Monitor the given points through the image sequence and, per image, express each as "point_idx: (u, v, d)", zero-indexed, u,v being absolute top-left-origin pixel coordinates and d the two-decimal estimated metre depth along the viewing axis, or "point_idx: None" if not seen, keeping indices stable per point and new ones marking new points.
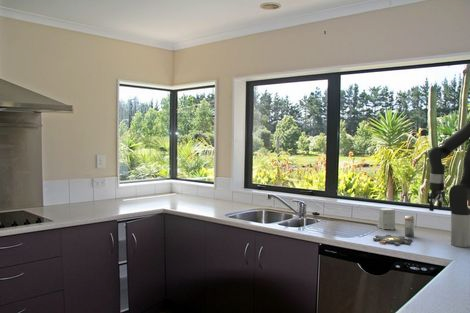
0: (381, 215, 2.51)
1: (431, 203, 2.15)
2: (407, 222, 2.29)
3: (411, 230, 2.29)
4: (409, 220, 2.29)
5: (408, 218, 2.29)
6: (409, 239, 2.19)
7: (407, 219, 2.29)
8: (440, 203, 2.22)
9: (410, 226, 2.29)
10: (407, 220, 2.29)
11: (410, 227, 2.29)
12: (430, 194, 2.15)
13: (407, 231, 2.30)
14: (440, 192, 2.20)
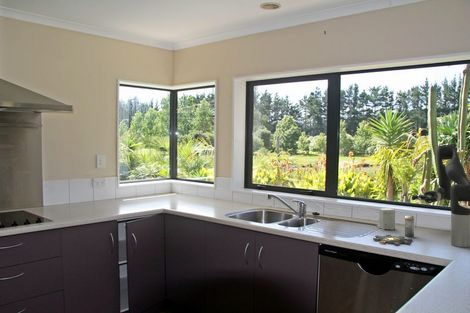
0: (381, 215, 2.51)
1: (412, 195, 2.45)
2: (407, 222, 2.29)
3: (411, 230, 2.29)
4: (409, 220, 2.29)
5: (408, 218, 2.29)
6: (409, 239, 2.19)
7: (407, 219, 2.29)
8: None
9: (410, 226, 2.29)
10: (407, 220, 2.29)
11: (410, 227, 2.29)
12: None
13: (407, 231, 2.30)
14: (430, 196, 2.41)
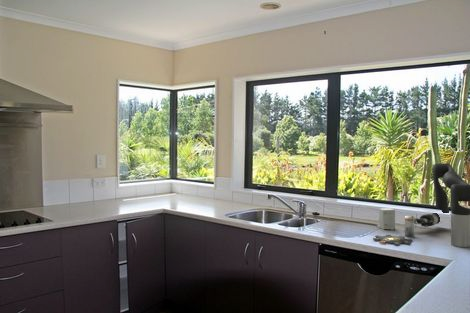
0: (381, 215, 2.51)
1: None
2: (407, 222, 2.29)
3: (411, 230, 2.29)
4: (409, 220, 2.29)
5: (408, 218, 2.29)
6: (409, 239, 2.19)
7: (407, 219, 2.29)
8: None
9: (410, 226, 2.29)
10: (407, 220, 2.29)
11: (410, 227, 2.29)
12: None
13: (407, 231, 2.30)
14: (427, 219, 2.39)
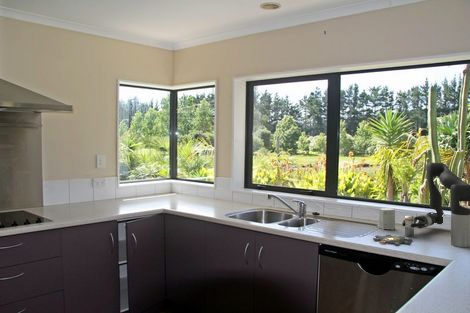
0: (381, 215, 2.51)
1: None
2: (407, 222, 2.29)
3: (411, 230, 2.29)
4: (409, 220, 2.29)
5: (408, 218, 2.29)
6: (409, 239, 2.19)
7: (407, 219, 2.29)
8: None
9: (410, 226, 2.29)
10: (407, 220, 2.29)
11: (410, 227, 2.29)
12: None
13: (407, 231, 2.30)
14: (421, 221, 2.34)
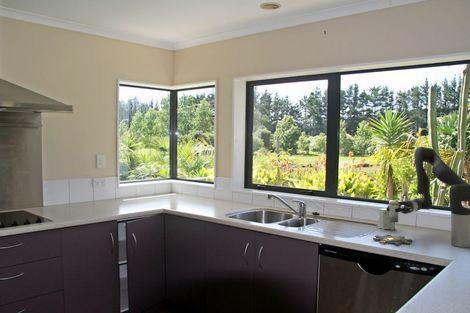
0: (381, 215, 2.51)
1: None
2: (391, 207, 2.20)
3: (395, 215, 2.19)
4: (393, 204, 2.19)
5: (392, 202, 2.19)
6: (409, 239, 2.19)
7: (391, 203, 2.20)
8: None
9: (394, 211, 2.19)
10: (391, 205, 2.20)
11: (394, 212, 2.19)
12: None
13: (391, 216, 2.20)
14: (406, 206, 2.25)
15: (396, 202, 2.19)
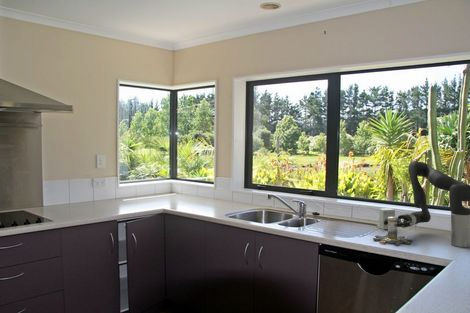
0: (381, 215, 2.51)
1: (385, 219, 2.27)
2: (390, 223, 2.19)
3: (394, 232, 2.18)
4: (392, 221, 2.18)
5: (391, 219, 2.19)
6: (409, 239, 2.19)
7: (390, 220, 2.19)
8: None
9: (393, 227, 2.18)
10: (390, 221, 2.19)
11: (393, 229, 2.18)
12: None
13: (390, 233, 2.19)
14: (404, 220, 2.24)
15: (395, 219, 2.18)
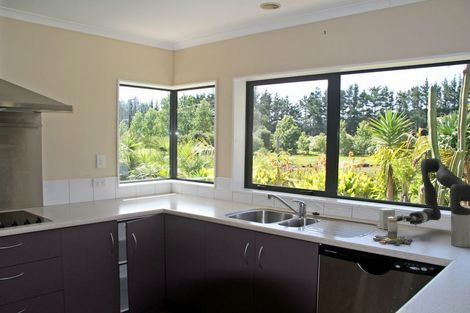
0: (381, 215, 2.51)
1: (397, 216, 2.35)
2: (390, 223, 2.19)
3: (394, 232, 2.18)
4: (392, 221, 2.18)
5: (391, 219, 2.19)
6: (409, 239, 2.19)
7: (390, 220, 2.19)
8: None
9: (393, 228, 2.18)
10: (390, 221, 2.19)
11: (393, 229, 2.18)
12: None
13: (390, 233, 2.19)
14: (416, 217, 2.31)
15: (395, 219, 2.18)
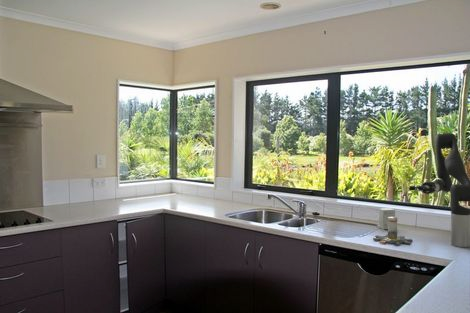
0: (381, 215, 2.51)
1: None
2: (390, 223, 2.19)
3: (394, 232, 2.18)
4: (392, 221, 2.18)
5: (391, 219, 2.18)
6: (409, 239, 2.19)
7: (390, 220, 2.19)
8: None
9: (393, 228, 2.18)
10: (390, 221, 2.19)
11: (393, 229, 2.18)
12: None
13: (390, 233, 2.19)
14: (428, 186, 2.35)
15: (395, 219, 2.18)
